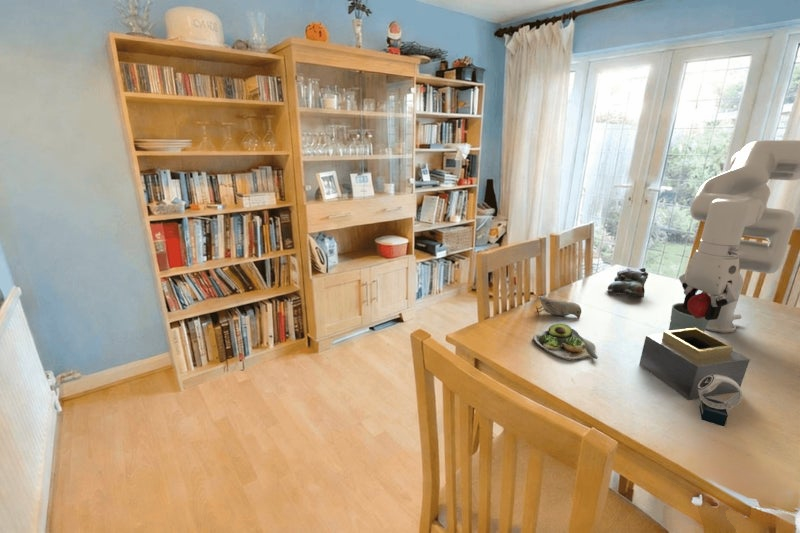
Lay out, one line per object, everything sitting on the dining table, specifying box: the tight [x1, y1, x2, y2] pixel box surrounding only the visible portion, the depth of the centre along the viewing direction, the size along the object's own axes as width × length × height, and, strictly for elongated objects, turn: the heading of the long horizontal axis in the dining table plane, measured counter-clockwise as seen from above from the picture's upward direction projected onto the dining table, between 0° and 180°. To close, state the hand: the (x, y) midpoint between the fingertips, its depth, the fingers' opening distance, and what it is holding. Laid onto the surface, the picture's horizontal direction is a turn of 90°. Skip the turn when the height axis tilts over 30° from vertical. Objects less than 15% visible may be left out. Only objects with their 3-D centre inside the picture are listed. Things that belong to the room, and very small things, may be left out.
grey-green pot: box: [667, 302, 709, 332], centre depth 121 cm, size 10×10×12 cm
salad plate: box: [533, 323, 599, 361], centre depth 120 cm, size 19×18×5 cm
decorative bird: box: [535, 295, 582, 319], centre depth 141 cm, size 5×16×8 cm, turn 75°
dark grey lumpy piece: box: [606, 267, 649, 299], centre depth 159 cm, size 15×12×14 cm
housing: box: [638, 328, 751, 401], centre depth 103 cm, size 16×16×12 cm
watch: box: [697, 374, 743, 428], centre depth 89 cm, size 6×8×11 cm
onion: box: [687, 291, 711, 319], centre depth 99 cm, size 6×6×8 cm
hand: (699, 313), depth 100 cm, fingers closed on onion, 5 cm apart
